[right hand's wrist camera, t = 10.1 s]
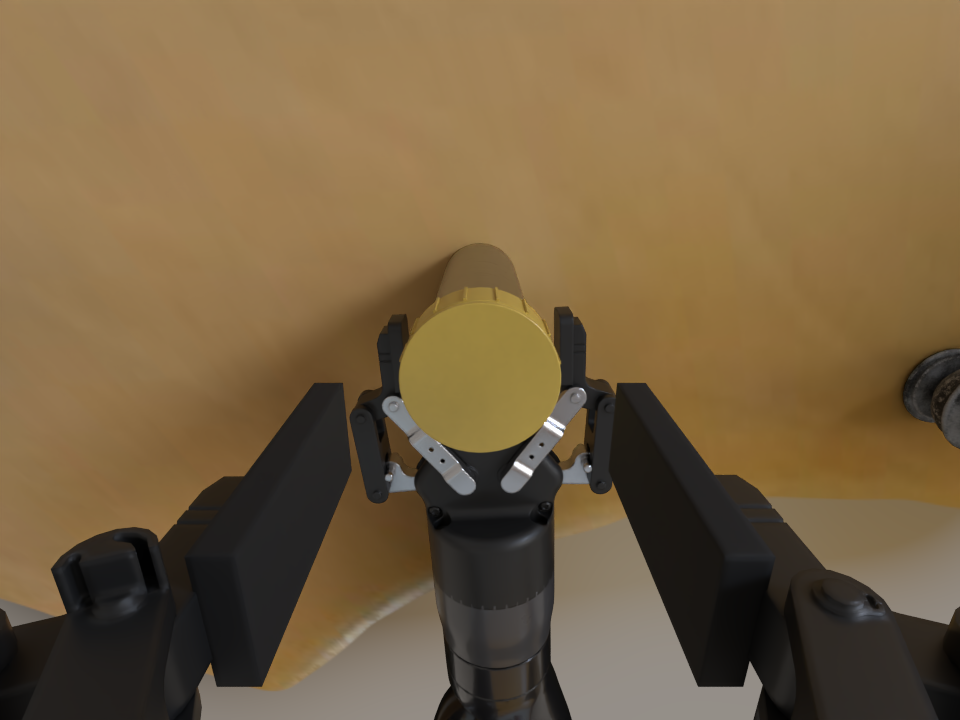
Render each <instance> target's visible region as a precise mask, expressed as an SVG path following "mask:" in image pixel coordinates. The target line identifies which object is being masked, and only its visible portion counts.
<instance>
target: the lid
mask: <svg viewBox="0 0 960 720" xmlns="http://www.w3.org/2000/svg"><path fill="white" fill-rule="evenodd" d="M410 334H411V335H410V337H409V340H408V342H407V343H406V345H405V347H404V349H403V352H402V354H401V357H400V359H399V362H400V368H399V387H400V393H401V397H402V400H403V403H404V405H405V408H406V410H407V411H408V413H409V415H410V416H411V418H412V419H413V421H414V422H415V423H416V424H417V426H418V427H419V428H420V429H421V430H422V431H423V432H425V433H426V434H427V435H428V436H430V437H431V438H432V439H434V440H436V441H437V442H439V443H441V444H443V445H446V446H448V447H450V448H454V449H457V450H461V451H466V452H476V453H484V452H494V451H499V450H503V449H507V448H510V447H512V446H514V445H517V444H519V443H521V442H522V441H524V440H526V439H527V438H529V437H530V436H532V435H533V434H534V433H535V432H536V431H537V430H539V429H540V428H541V427H542V425H543V424H544V423H545V422H546V421H547V419H548V418H549V416H550V415H551V413H552V411H553V409H554V407H555V405H556V403H557V400H558V396H559V393H560V387H561V369H560V364H561V361H560V358H559V356H558V353H557V351H556V348H555V346H554V345H553V343H552V340H551V338H550V336H551V333H550V331H549V329H548V326H547V324H546V321H545V320H544V319H543V320H542V319H541V318H540V316H539V315H538V314H537V313H536V312H535V310H534V309H533V308H532V307H530V306H529V305H528V304H527V303H526V300H525V299H524V298H523V299H522V300H521V299H520V298H518V297H516V296H514V295H512V294H510V293H508V292H505V291H502V290H498V287H495V289H493V288H484V287H476V288H467V287H464V289H461V290H458V291H455V292H452V293H450V294H448V295H446V296H443V297H442V298H439V297H438V298H436V301H435V302H434V303H433V304H432V305H431V306H429V307H428V308H427V309H426V310H425V312H424V313H423V314H422V315H421V316H420V318H418V317H417V318H416V320H415V322H414V325H413V327H412V330H411V332H410Z"/></svg>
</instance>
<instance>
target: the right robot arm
mask: <svg viewBox="0 0 960 720" xmlns="http://www.w3.org/2000/svg"><path fill="white" fill-rule="evenodd" d="M351 471H352V469H351V459H350V449H349V440H348V430H347V420H346V410H345V400H344V390H343V383H314V384H313V386H312V387H311V388H310V390H309V391H308V392H307V394H306V395H305V396H304V398H303V399H302V400H301V402H300V403H299V404H298V406H297V407H296V408H295V410H294V411H293V412H292V414H291V415H290V416H289V418H288V419H287V420H286V422H285V423H284V424H283V426H282V427H281V428H280V430H279V431H278V432H277V434H276V435H275V436H274V438H273V439H272V440H271V442H270V443H269V444H268V446H267V447H266V448H265V450H264V451H263V452H262V454H261V455H260V456H259V458H258V459H257V460H256V462H255V463H254V464H253V466H252V467H251V468H250V470H249V471H248V472H247V474H246V475H245V476H244V477H223V478H221V479H220V480H218V481H217V482H215V483H214V484H212V485H211V486H209V487H208V488H206V489H205V490H203V491H202V492H201V493H200V495H199V496H198V497H197V498H196V499H195V500H194V502H193V503H192V504H191V505H190V506H189V510H186V511H185V512H184V513H183V515H182V516H181V517H180V518H179V519H178V521H177V524H174V525H173V527H172V528H171V529H170V530H169V531H168V532H167V534H166V535H165V536H164V537H163V538H162V540H161V541H160V542H158V538H157V535H155V534H154V533H153V532H151V531H150V530H149V529H143V528H137V527H132V528H122V529H115V530H112V531H109V532H105V533H102V534H99V535H96V536H94V537H92V538H90V539H88V540H85V541H83V542H81V543H79V544H77V545H76V546H75V547H73V548H72V549H70V550H69V551H68V552H66V553H65V554H64V555H62V556H61V557H60V558H59V559H58V561H57V562H56V563H55V564H54V566H53V567H52V568H51V571H52V574H53V576H54V579H55V582H56V585H57V587H58V590H59V593H60V595H61V598H62V601H63V604H64V606H65V609H66V612H67V614H65V615H62V616H57V617H53V618H49V619H45V620H40V621H36V622H32V623H27V624H23V625H19V626H14V627H12V626H11V624H10V622H9V619H8V617H7V615H6V612H5V611H3V610H2V609H0V720H200V718H201V709H202V706H201V700H200V694H199V690H198V685H199V683H200V681H201V679H202V678H203V676H204V674H205V672H206V670H207V668H208V667H209V665H210V663H211V665H212V669H213V673H214V677H215V681H216V685H217V687H262V685H263V683H264V680H265V678H266V676H267V673H268V671H269V668H270V666H271V663H272V661H273V659H274V656H275V654H276V651H277V649H278V647H279V644H280V642H281V639H282V637H283V635H284V632H285V630H286V627H287V625H288V623H289V620H290V618H291V615H292V613H293V611H294V608H295V606H296V603H297V601H298V599H299V596H300V594H301V591H302V589H303V587H304V584H305V582H306V579H307V577H308V574H309V572H310V570H311V567H312V565H313V562H314V560H315V558H316V555H317V553H318V550H319V548H320V546H321V543H322V541H323V538H324V536H325V534H326V531H327V529H328V526H329V524H330V522H331V519H332V517H333V514H334V512H335V510H336V507H337V505H338V502H339V500H340V498H341V495H342V493H343V490H344V488H345V485H346V483H347V481H348V478H349V476H350V473H351ZM608 471H609V473H610V476H611V478H612V481H613V483H614V486H615V488H616V490H617V493H618V495H619V498H620V500H621V502H622V505H623V507H624V510H625V512H626V514H627V517H628V519H629V522H630V524H631V526H632V529H633V531H634V534H635V536H636V538H637V541H638V543H639V546H640V548H641V550H642V553H643V555H644V558H645V560H646V562H647V565H648V567H649V570H650V572H651V574H652V577H653V579H654V582H655V584H656V587H657V589H658V591H659V594H660V596H661V598H662V601H663V603H664V606H665V608H666V611H667V613H668V615H669V618H670V620H671V623H672V625H673V627H674V630H675V632H676V635H677V637H678V639H679V642H680V644H681V647H682V649H683V651H684V654H685V656H686V659H687V661H688V663H689V666H690V668H691V671H692V673H693V675H694V678H695V680H696V683H697V685H698V687H743V685H744V681H745V677H746V673H747V669H748V665H749V661H750V662H751V664H752V666H753V667H754V669H755V671H756V673H757V675H758V677H759V679H760V680H761V682H762V684H763V686H762V690H761V694H760V698H759V701H758V705H757V709H756V712H755V716H754V720H960V607H959V608H957V609H956V610H955V612H954V615H953V617H952V619H951V622H950V624H949V625H947V624H942V623H938V622H934V621H930V620H925V619H921V618H917V617H912V616H908V615H904V614H900V613H896V612H893V611H891V610H890V608H889V607H888V605H887V604H886V602H885V601H884V599H882V598H881V597H880V596H879V595H878V594H876V593H875V592H874V591H873V590H871V589H870V588H869V587H868V586H866V585H864V584H862V583H860V582H859V581H857V580H855V579H853V578H851V577H849V576H846V575H843V574H840V573H837V572H834V571H831V570H826V569H825V568H824V567H823V565H822V564H821V563H820V562H819V561H818V559H817V558H816V557H815V556H814V555H813V554H812V552H811V551H810V550H809V549H808V548H807V547H806V545H805V544H804V543H803V542H802V541H801V539H800V538H799V537H798V536H797V535H796V534H795V532H794V531H793V530H792V529H791V528H790V527H789V525H788V524H787V523H784V522H783V518H782V517H781V516H780V515H779V514H778V512H777V511H776V510H775V509H772V506H771V504H770V503H769V502H768V501H767V499H766V498H765V497H764V496H763V495H762V494H761V492H760V491H759V490H758V489H757V488H755V487H754V486H752V485H751V484H749V483H748V482H746V481H745V480H743V479H742V478H740V477H739V476H737V475H714V474H713V472H712V471H711V470H710V468H709V467H708V466H707V464H706V463H705V462H704V460H703V459H702V458H701V456H700V455H699V454H698V452H697V451H696V450H695V448H694V447H693V446H692V444H691V443H690V442H689V440H688V439H687V438H686V436H685V435H684V434H683V432H682V431H681V430H680V428H679V427H678V426H677V424H676V423H675V422H674V420H673V419H672V418H671V416H670V415H669V414H668V412H667V411H666V410H665V408H664V407H663V406H662V404H661V403H660V402H659V400H658V399H657V398H656V396H655V395H654V394H653V392H652V391H651V390H650V388H649V387H648V386H647V384H646V383H617V390H616V400H615V410H614V420H613V430H612V440H611V449H610V459H609V469H608Z"/></svg>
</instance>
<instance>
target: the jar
mask: <svg viewBox="0 0 960 720" xmlns="http://www.w3.org/2000/svg"><path fill="white" fill-rule="evenodd" d="M464 287H467V288H476V287H484V288H493V289H495V287H498V290H502V291H505V292H508V293H510V294H512V295H514V296H516V297H518V298H520V299H521V300H522V299H523V298H524V297H523V294H522V290H521V287H520V284H519V281H518V278H517V275H516V272H515V269H514V266H513V264H512V262H511V260H510V259H509V257H508V256H507V255H506V254H505V253H504V252H503V251H501V250H500V249H498V248H497V247H495V246H492V245H489V244H482V243H479V244H471V245H468V246H465V247H463V248H462V249H460V250H458V251H457V252H456V253H455V254H454V255H453V256H452V257H451V259H450V260H449V262H448V264H447V266H446V269H445V272H444V275H443V278H442V281H441V284H440V287H439V290H438V294H437V297H436V298H438V297H439V298H442V297H443V296H446V295H448V294H450V293H452V292H455V291H458V290H461V289H464ZM435 301H436V300H435Z"/></svg>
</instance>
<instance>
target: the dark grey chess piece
mask: <svg viewBox="0 0 960 720" xmlns="http://www.w3.org/2000/svg"><path fill="white" fill-rule="evenodd" d="M903 399H904V404H905V407H906V409H907V411H908V412H909V413H910V414H911V415H912V416H914V417H915V418H917V419H919V420H922V421H926V422H935V423H936V424H937V426H938V427H939V429H940V430H941V431H942V432H943V434H944V436H945V438H946V439H947V440H948V441H949V442H950V443H951V444H952V445H953V446H955V447H957V448H959V449H960V349H949V350H945V351H942V352H939V353H936V354H934V355H932V356H931V357H929V358H927V359H926V360H924V361H923V362H922V363H921V364H919V365H918V366H917V367H916V368H915V370H914V371H913V372H912V373H911V374H910V376H909V378H908V380H907V382H906V384H905V388H904V392H903Z"/></svg>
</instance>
